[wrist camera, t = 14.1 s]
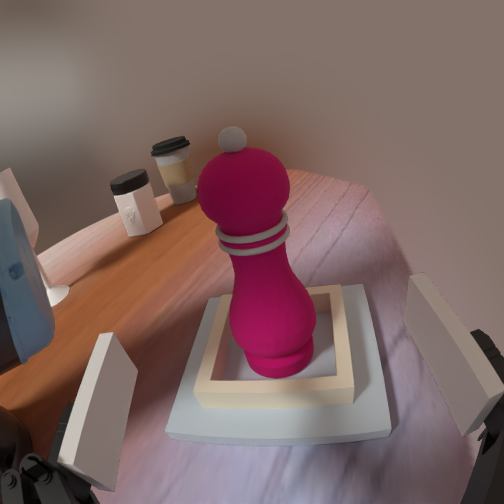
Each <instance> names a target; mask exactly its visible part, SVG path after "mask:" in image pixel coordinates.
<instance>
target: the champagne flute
mask: <svg viewBox="0 0 504 504" xmlns="http://www.w3.org/2000/svg"><path fill="white" fill-rule="evenodd" d="M4 198H8V199H10V200H11V201H12V203H13V204H14V205H15V207H16V209H17V211H18V213H19V215H20V218H21V220H22V223H23V225H24V228H25V231H26V234H27V236H28V239H29V242H30V245H31V248H32V251H33V253H34V256H35V259H36V262H37V265H38V268H39V271H40V274H41V277H42V280H43V282H44V284H45V286H46V288H47V291H46V292H47V295H48V298H49V301H50V305H51V307H52V306H54V305H56V304H58V303H59V302H61V301H62V300H63V299H64V298H65V297H66V296H67V294H68V293H69V290H70V288H69V286H67V285H60V286H52V284H51V283H50V281H49V279H48V277H47V275H46V273H45V272H44V270H43V268H42V266H41V264H40V262H39V260H38V258H37V256H36V255H35V252H34V250H33V248H34V246H35V243H36V240H37V237H38V231H39V226H38V223H37V221H36V219H35V217H34V215H33V214H32V212H31V210H30V208H29V206H28V204H27V202H26V200H25V198H24V196H23V194H22V192H21V190H20V188H19V186H18V184H17V182H16V179H15V177H14V175H13V173H12V171H11V169H10V168H8V169H6V170H4V171H2V172H1V173H0V200H1V199H4Z"/></svg>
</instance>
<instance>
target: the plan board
mask: <svg viewBox="0 0 504 504" xmlns="http://www.w3.org/2000/svg"><path fill="white" fill-rule="evenodd" d="M306 290H307V291H308V293H309V295H310V297H311V299H312V301H313V303H314V308H315V312H316V326H315V329H314V332H313V333H312V336H313V344H314V354H313V356H312V359H311V361H310V362H309V364H308V365H307V366H306V367H305V368H304V369H303V370H302V371H300V372H298V373H296V374H294V375H292V376H289V377H285V378H278V379H275V378H267V377H264V376H261V375H259V374H257V373H256V372H254V371H253V370H252V369H251V368H250V366H249V364H248V362H247V359H246V356H245V353H244V349H242V348H241V347H240V346H239V345H238V344H237V343H236V341H235V340H234V338H233V336H232V332H231V328H230V322H229V310H230V303H231V299H232V295H233V294H226V295H222V296H221V297H213V298H209V300H208V303H207V306H206V309H205V312H204V315H203V317H202V320H201V323H200V326H199V329H198V332H197V335H196V338H195V341H194V344H193V347H192V350H191V353H190V356H189V359H188V362H187V365H186V368H185V371H184V374H183V377H182V380H181V383H180V386H179V389H178V392H177V395H176V398H175V402H174V405H173V408H172V411H171V414H170V417H169V420H168V423H167V427H166V430H165V432H166V433H167V434H168V435H169V437H170V438H171V439H175V440H183V441H192V442H201V443H213V444H227V445H248V446H298V445H319V444H333V443H344V442H354V441H363V440H371V439H378V438H385V437H389V435H390V432H391V429H392V428H391V421H390V414H389V407H388V401H387V395H386V389H385V383H384V377H383V372H382V367H381V361H380V356H379V351H378V346H377V342H376V337H375V332H374V328H373V323H372V319H371V314H370V310H369V306H368V302H367V298H366V294H365V290H364V286H363V284H356V285H347V286H341V284H336V285H326V286H317V287H307V288H306Z"/></svg>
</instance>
